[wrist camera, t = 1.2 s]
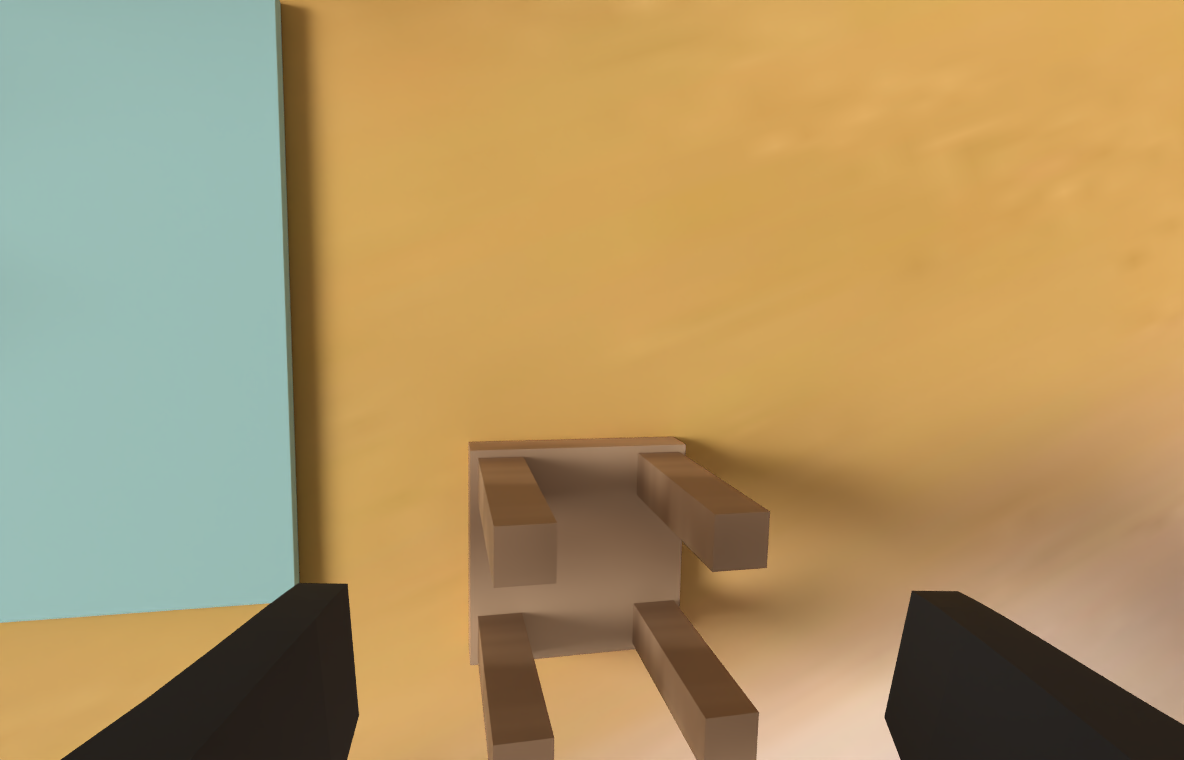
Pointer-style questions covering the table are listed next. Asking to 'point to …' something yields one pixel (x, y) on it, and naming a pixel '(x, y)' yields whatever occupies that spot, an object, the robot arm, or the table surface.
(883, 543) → the table surface
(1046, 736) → the robot arm
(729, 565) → the upturned stool
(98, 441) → the mat
